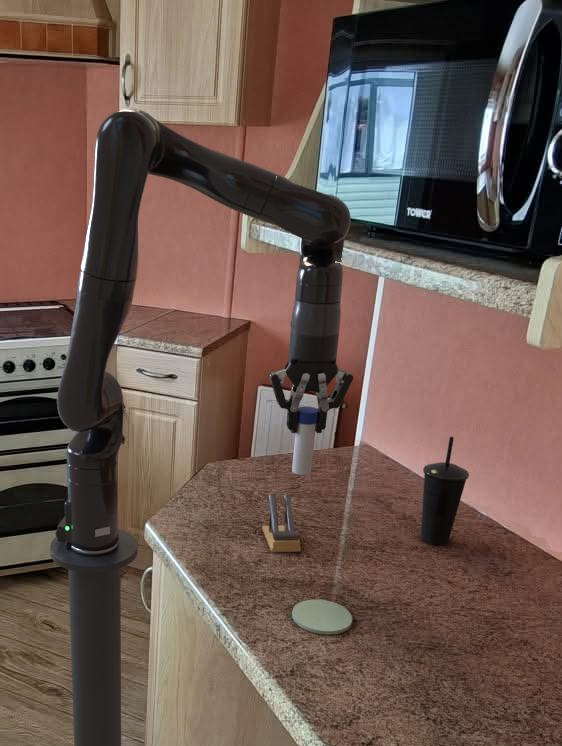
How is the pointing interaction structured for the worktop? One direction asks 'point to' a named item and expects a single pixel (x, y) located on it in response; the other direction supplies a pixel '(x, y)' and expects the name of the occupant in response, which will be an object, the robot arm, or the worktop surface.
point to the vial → (304, 440)
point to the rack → (281, 529)
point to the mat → (322, 616)
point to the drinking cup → (441, 499)
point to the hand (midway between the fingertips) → (305, 431)
